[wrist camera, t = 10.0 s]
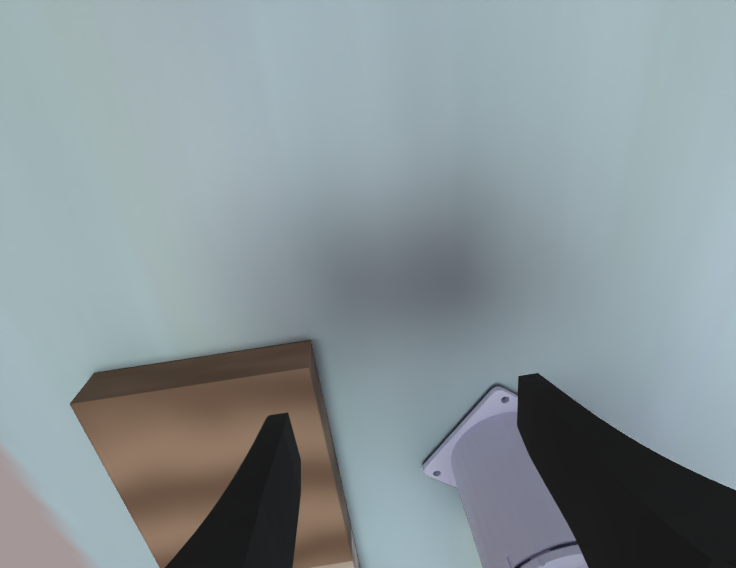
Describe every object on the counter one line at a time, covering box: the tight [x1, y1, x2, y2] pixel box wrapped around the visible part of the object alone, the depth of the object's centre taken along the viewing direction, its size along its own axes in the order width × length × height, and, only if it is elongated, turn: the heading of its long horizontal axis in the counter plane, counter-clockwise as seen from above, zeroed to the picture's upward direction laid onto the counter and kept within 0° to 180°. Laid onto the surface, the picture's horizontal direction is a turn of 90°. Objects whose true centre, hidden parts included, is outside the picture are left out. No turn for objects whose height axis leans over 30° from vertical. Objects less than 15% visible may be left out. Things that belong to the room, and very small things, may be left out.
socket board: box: [70, 340, 360, 568], centre depth 28 cm, size 24×12×2 cm, turn 7°
